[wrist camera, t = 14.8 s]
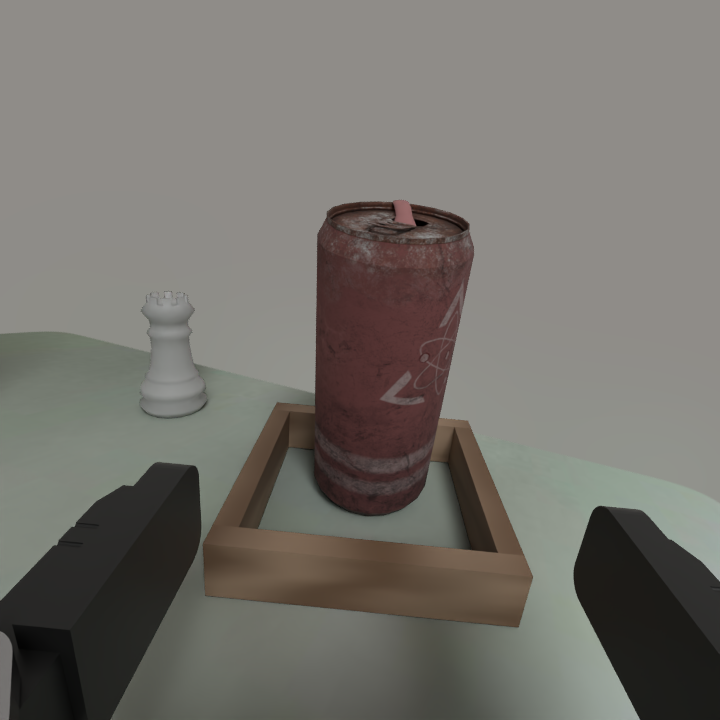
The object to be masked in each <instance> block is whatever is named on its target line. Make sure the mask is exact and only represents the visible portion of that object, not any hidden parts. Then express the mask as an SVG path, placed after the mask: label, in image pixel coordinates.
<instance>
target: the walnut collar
mask: <svg viewBox="0 0 720 720" xmlns="http://www.w3.org/2000/svg"><path fill="white" fill-rule="evenodd" d="M288 447H294V448H305V449H315V406H309V405H299V404H289V403H278V402H277V404H276V405H275V407H274V409H273V411H272V413H271V415H270V417H269V419H268V421H267V423H266V424H265V426H264V428H263V430H262V432H261V434H260V436H259V438H258V440H257V442H256V444H255V445H254V447H253V449H252V451H251V453H250V455H249V457H248V459H247V461H246V463H245V464H244V466H243V468H242V470H241V472H240V474H239V476H238V478H237V480H236V482H235V483H234V485H233V487H232V489H231V491H230V493H229V495H228V497H227V499H226V501H225V503H224V504H223V506H222V508H221V510H220V512H219V514H218V516H217V518H216V520H215V522H214V523H213V525H212V527H211V529H210V531H209V533H208V535H207V537H206V539H205V541H204V543H203V557H204V578H205V596H215V597H225V598H235V599H245V600H254V601H264V602H274V603H284V604H294V605H304V606H314V607H323V608H333V609H343V610H353V611H363V612H373V613H383V614H392V615H402V616H412V617H422V618H432V619H442V620H452V621H461V622H471V623H481V624H491V625H501V626H511V627H519V624H520V620H521V617H522V613H523V610H524V606H525V603H526V600H527V596H528V593H529V589H530V586H531V582H532V579H533V575H532V573H531V571H530V568H529V566H528V564H527V561H526V559H525V556H524V554H523V552H522V549H521V547H520V544H519V542H518V540H517V537H516V535H515V532H514V530H513V528H512V525H511V523H510V520H509V518H508V516H507V513H506V511H505V508H504V506H503V504H502V501H501V499H500V497H499V494H498V492H497V489H496V487H495V485H494V482H493V480H492V477H491V475H490V473H489V470H488V468H487V465H486V463H485V461H484V458H483V456H482V453H481V451H480V449H479V446H478V444H477V441H476V439H475V437H474V434H473V432H472V430H471V427H470V425H469V423H468V421H464V420H455V419H444V418H439V421H438V426H437V431H436V435H435V440H434V445H433V449H432V454H431V459H430V461H438V462H448V464H449V468H450V471H451V475H452V479H453V482H454V486H455V490H456V493H457V497H458V501H459V504H460V508H461V512H462V515H463V519H464V523H465V526H466V530H467V534H468V537H469V541H470V545H471V549H472V550H463V549H453V548H443V547H433V546H423V545H413V544H403V543H393V542H383V541H372V540H362V539H352V538H342V537H332V536H322V535H312V534H302V533H292V532H282V531H272V530H262V529H258V526H259V524H260V521H261V518H262V516H263V513H264V510H265V508H266V505H267V503H268V500H269V497H270V495H271V492H272V489H273V487H274V484H275V481H276V479H277V476H278V473H279V471H280V468H281V466H282V463H283V460H284V458H285V455H286V452H287V450H288Z"/></svg>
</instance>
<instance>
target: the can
mask: <svg viewBox="0 0 720 720" xmlns="http://www.w3.org/2000/svg"><path fill="white" fill-rule="evenodd" d="M317 237H318V239H317V309H316V310H317V311H316V381H315V382H316V383H315V452H314V475H315V478H316V480H317V482H318V485H319V487H320V489H321V490H322V491H323V492H324V493H325V494H326V495H327V496H328V497H329V498H330V499H331V500H332V501H333V502H334V503H335V504H337V505H339V506H340V507H342V508H344V509H346V510H348V511H349V512H353V513H357V514H361V515H365V516H376V515H386V514H389V513H392V512H395V511H398V510H401V509H402V508H404V507H406V506H407V505H408V504H410V503H411V502H413V501H414V500H415V499H417V498H418V496H419V494H420V493H421V491H422V490H423V488H424V486H425V482H426V478H427V473H428V468H429V464H430V459H431V454H432V449H433V445H434V440H435V435H436V431H437V426H438V421H439V416H440V412H441V407H442V402H443V397H444V393H445V388H446V383H447V378H448V374H449V370H450V365H451V360H452V355H453V351H454V346H455V341H456V337H457V332H458V327H459V323H460V318H461V313H462V308H463V304H464V299H465V294H466V290H467V285H468V280H469V276H470V270H471V266H472V261H473V257H474V246H473V243H472V240H471V236H470V233H469V223H468V222H467V221H466V220H464V219H463V218H461V217H459V216H457V215H455V214H452V213H450V212H446V211H443V210H439V209H435V208H431V207H425V206H420V205H414V204H409V202H407V201H404V200H395V201H393V202H356V203H348V204H342V205H339V206H335V207H333V208H331V209H330V210H329V211H327V218H326V219H325V221H324V223H323V226H322V227H321V229H320V230H319V233H318V236H317Z"/></svg>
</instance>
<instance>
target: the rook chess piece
mask: <svg viewBox="0 0 720 720" xmlns="http://www.w3.org/2000/svg"><path fill="white" fill-rule="evenodd" d="M194 311H195V310H194V308H193V307H192V305H191V304H190V303H189V302H188V295H185V293H181V292H178V293H177V298H172V292H170V291H169V292H168V291H164V298H159V293H158V292H153V293H150V295H149V294H147V295H146V304H145V305H144V306H143V307H142V309H141V312H142V313H143V314H144V315H145V316H146V318H147V319H149V322H150V328H149V330H148V331H147V334H148V335H149V336H150V339H151V358H150V367H149V371H148V372H147V373H146V375H145V378H146V379H145V380H144V381H143V382H142V384H141V388H140V394H141V395H142V396H143V398H142V399H141V400H140V404H139V405H140V406H141V407H142V408H143V409H144V410H145V411H146V412H147V413H148V414H149V415H152V416H155V417H159V418H178V417H183V416H187V415H191V414H193V413H195V412H197V411H199V410H200V408H201V407H202V406H203V405H204V403H205V402H206V401H207V395H206V394H205V393H204V392H203V391H204V390H205V389H206V385H205V382H204V379H203V378H202V377H200V376H199V371H198V370H197V369H196V368H195V365H194V363H193V359H192V355H191V350H190V345H189V336H190V334H191V333H192V330H191V329H190V328H189V326H188V319H189V318H190V317H191V315H192V314H193V312H194Z"/></svg>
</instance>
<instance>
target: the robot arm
mask: <svg viewBox="0 0 720 720" xmlns="http://www.w3.org/2000/svg"><path fill="white" fill-rule="evenodd" d="M200 537H201V510H200V490H199V473H198V470H197V468H196V466H193V465H182V464H172V463H162V462H157V463H154V464H153V465H152V466H151V467H150V468H149V469H148V470H147V472H146V473H145V474H144V475H143V476H142V477H141V478H140V479H139V481H138V482H137V483H136V484H135V485H134V486H125V485H123V486H121V487H120V488H118V489H116V490H115V491H113V492H111V493H110V494H108V495H106V496H105V497H103V498H101V499H100V500H98V501H96V502H95V503H94V504H93V505H92V506H91V507H90V508H89V510H88V511H87V512H86V513H85V514H84V515H83V516H82V517H81V518H80V519H79V520H78V521H77V522H76V525H75V527H71V528H70V529H69V530H68V531H67V532H66V533H65V534H64V535H63V537H62V538H61V539H60V540H59V542H58V545H57V546H56V545H54V546H53V547H52V548H51V549H50V550H49V551H48V552H47V553H46V554H45V555H44V556H43V557H42V558H41V559H40V560H39V561H38V562H37V564H36V565H35V566H34V567H33V568H32V569H31V570H30V571H29V572H28V573H27V574H26V575H25V576H24V577H23V578H22V579H21V580H20V581H19V582H18V583H17V584H16V585H15V586H14V587H13V588H12V590H11V591H10V592H9V593H8V594H7V595H6V596H5V597H4V598H3V599H2V600H1V601H0V720H110V719H111V717H112V715H113V713H114V711H115V709H116V707H117V705H118V704H119V702H120V700H121V698H122V696H123V694H124V692H125V690H126V688H127V686H128V684H129V683H130V681H131V679H132V677H133V675H134V673H135V671H136V669H137V667H138V665H139V664H140V662H141V660H142V658H143V656H144V654H145V652H146V650H147V648H148V646H149V644H150V643H151V641H152V639H153V637H154V635H155V633H156V631H157V629H158V627H159V625H160V623H161V622H162V620H163V618H164V616H165V614H166V612H167V610H168V608H169V606H170V604H171V603H172V601H173V599H174V597H175V595H176V593H177V591H178V589H179V587H180V585H181V583H182V582H183V580H184V578H185V576H186V574H187V572H188V570H189V568H190V566H191V564H192V562H193V560H194V558H195V556H196V553H197V550H198V546H199V542H200ZM574 585H575V590H576V594H577V597H578V599H579V601H580V603H581V605H582V607H583V609H584V611H585V613H586V615H587V617H588V619H589V621H590V623H591V625H592V627H593V629H594V631H595V633H596V635H597V637H598V638H599V640H600V642H601V644H602V646H603V648H604V650H605V652H606V654H607V656H608V658H609V660H610V662H611V664H612V666H613V668H614V670H615V672H616V674H617V676H618V677H619V679H620V681H621V683H622V685H623V687H624V689H625V691H626V693H627V695H628V697H629V699H630V701H631V703H632V705H633V707H634V709H635V711H636V713H637V715H638V716H639V718H640V720H720V581H719V580H718V579H717V578H716V577H715V576H714V575H713V574H712V573H711V572H710V571H709V569H708V568H707V567H706V566H705V565H704V564H703V563H702V562H701V561H700V560H698V559H697V558H696V557H694V556H693V555H691V554H690V553H689V552H687V551H686V550H685V549H683V548H682V547H681V546H679V545H678V544H676V543H675V542H674V541H672V540H669V539H668V538H667V537H666V536H665V535H664V534H663V533H662V531H661V530H660V529H659V528H658V527H657V526H656V525H655V523H654V522H653V521H652V520H651V519H650V518H649V517H648V516H647V515H646V514H645V513H644V512H643V511H641V510H637V509H627V508H616V507H606V506H598V507H596V508H595V509H594V510H593V512H592V514H591V516H590V519H589V522H588V525H587V529H586V532H585V535H584V538H583V541H582V544H581V547H580V550H579V553H578V556H577V559H576V562H575V566H574Z"/></svg>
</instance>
